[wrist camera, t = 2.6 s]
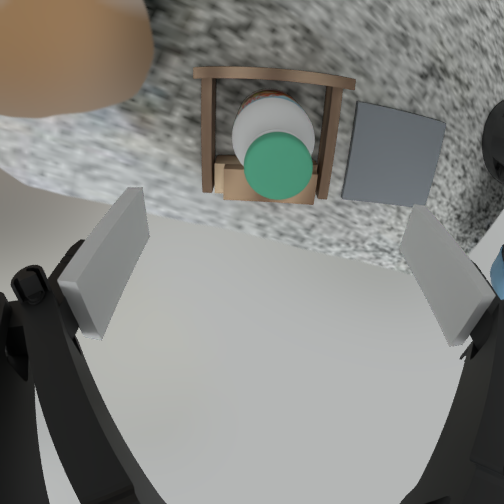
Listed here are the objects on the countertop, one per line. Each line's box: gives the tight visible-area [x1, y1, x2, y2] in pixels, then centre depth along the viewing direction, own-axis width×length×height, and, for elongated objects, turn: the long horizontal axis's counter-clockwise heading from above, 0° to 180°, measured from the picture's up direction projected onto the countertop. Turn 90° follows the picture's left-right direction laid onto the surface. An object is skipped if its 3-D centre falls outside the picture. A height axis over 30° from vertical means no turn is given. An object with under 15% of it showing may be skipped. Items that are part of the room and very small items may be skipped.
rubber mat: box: [341, 101, 446, 207], centre depth 37 cm, size 14×14×1 cm
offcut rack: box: [193, 66, 356, 205], centre depth 33 cm, size 16×16×8 cm
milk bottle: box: [232, 88, 315, 200], centre depth 27 cm, size 8×8×20 cm
